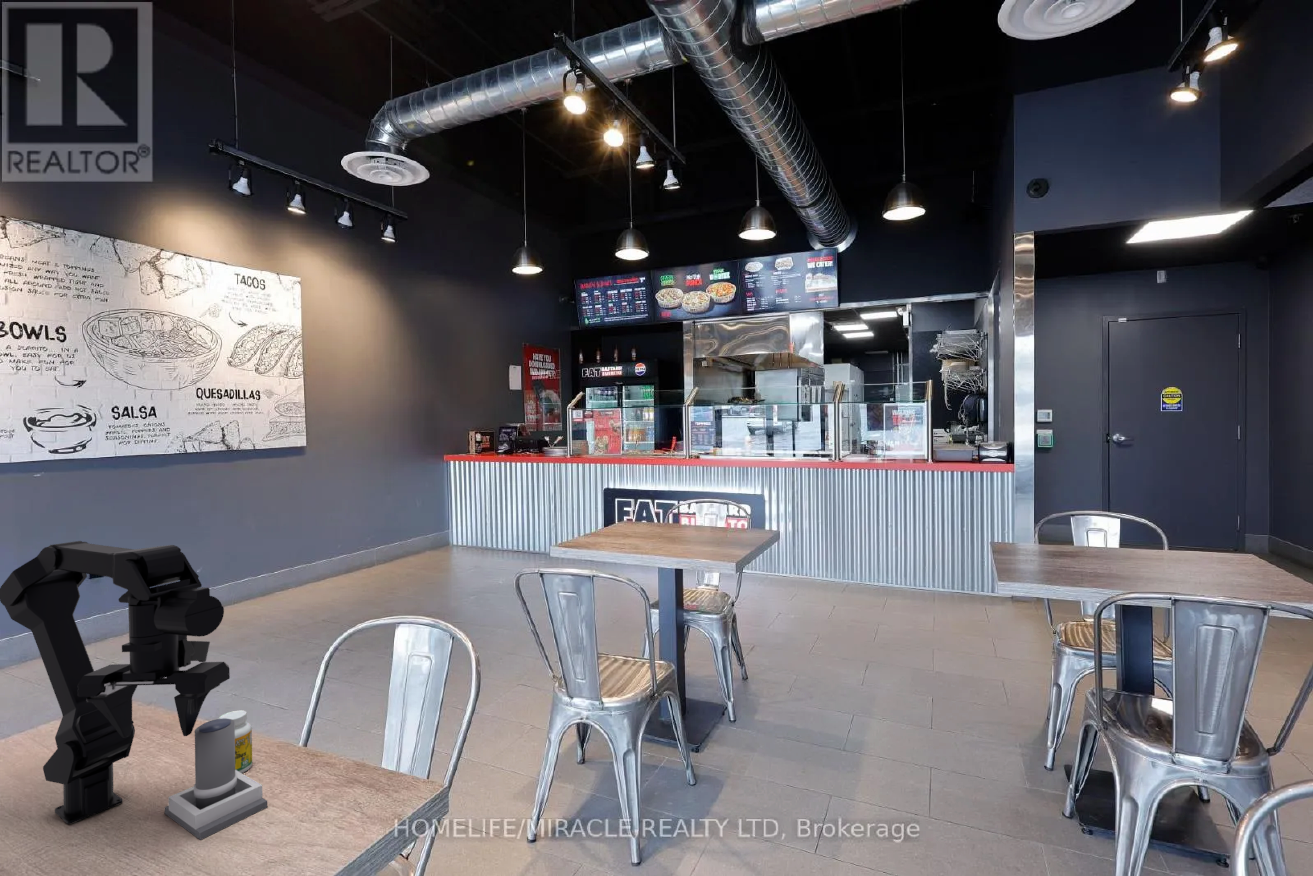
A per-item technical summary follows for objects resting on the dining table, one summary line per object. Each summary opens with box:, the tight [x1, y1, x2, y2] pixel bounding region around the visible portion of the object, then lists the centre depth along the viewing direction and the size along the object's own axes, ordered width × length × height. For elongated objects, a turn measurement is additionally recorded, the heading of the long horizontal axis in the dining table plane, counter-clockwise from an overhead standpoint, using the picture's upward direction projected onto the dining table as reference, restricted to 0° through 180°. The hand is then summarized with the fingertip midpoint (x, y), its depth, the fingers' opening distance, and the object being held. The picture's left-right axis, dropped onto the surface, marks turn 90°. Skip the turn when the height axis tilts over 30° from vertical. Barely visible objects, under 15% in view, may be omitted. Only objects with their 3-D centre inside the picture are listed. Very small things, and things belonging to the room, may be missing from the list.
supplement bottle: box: [218, 709, 253, 774], centre depth 106 cm, size 5×5×10 cm
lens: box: [193, 718, 237, 810], centre depth 94 cm, size 5×5×12 cm
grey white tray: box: [164, 770, 268, 841], centre depth 94 cm, size 12×9×3 cm
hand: (157, 735), depth 91 cm, fingers open, 9 cm apart
